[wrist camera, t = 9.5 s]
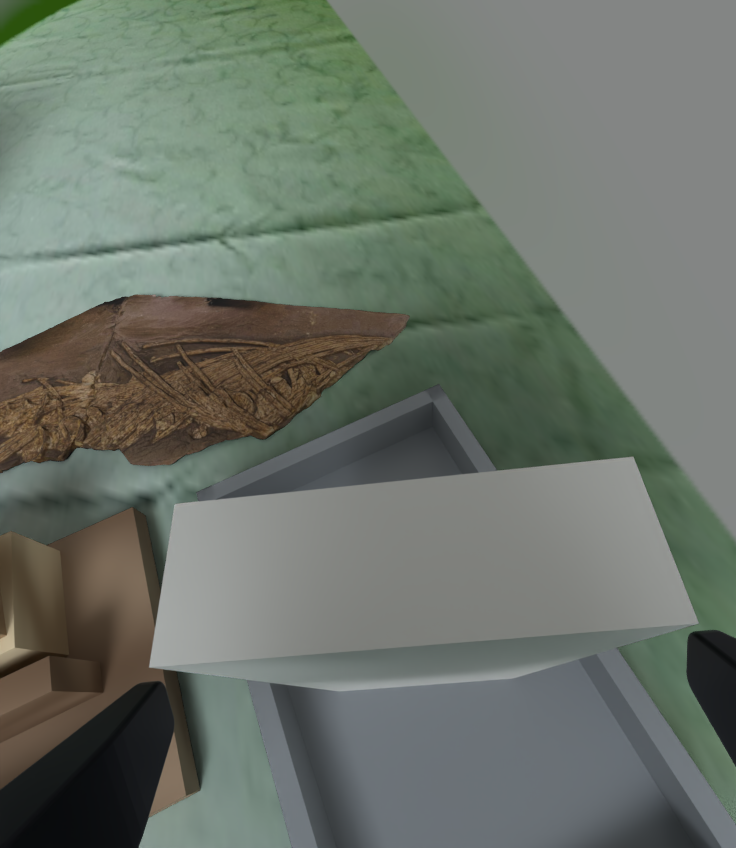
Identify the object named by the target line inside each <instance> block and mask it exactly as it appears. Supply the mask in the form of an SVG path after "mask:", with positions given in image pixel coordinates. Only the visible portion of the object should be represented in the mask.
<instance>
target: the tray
mask: <svg viewBox="0 0 736 848" xmlns="http://www.w3.org/2000/svg"><path fill="white" fill-rule="evenodd" d="M490 471H497V469H496V468H495V466H494V465H493V463H492V462H491V460H490V459H489V457H488V456H487V454H486V453H485V451H484V450H483V449H482V447H481V446H480V444H479V443H478V441H477V440H476V438H475V437H474V435H473V434H472V432H471V431H470V429H469V428H468V426H467V425H466V423H465V422H464V420H463V419H462V417H461V416H460V414H459V413H458V411H457V410H456V408H455V407H454V405H453V404H452V403H451V401H450V400H449V398H448V397H447V395H446V394H445V392H444V391H443V389H442V388H441V386H440V385H439V384H438V385H436V386H433V387H431V388H429V389H427V390H425V391H422V392H420V393H418V394H416V395H413V396H411V397H409V398H407V399H404V400H402V401H400V402H398V403H395V404H393V405H391V406H389V407H386V408H384V409H382V410H380V411H377V412H375V413H373V414H371V415H368V416H366V417H364V418H362V419H360V420H357V421H355V422H353V423H351V424H348V425H346V426H344V427H342V428H339V429H337V430H335V431H333V432H330V433H328V434H326V435H324V436H321V437H319V438H317V439H315V440H312V441H310V442H308V443H306V444H303V445H301V446H299V447H297V448H295V449H292V450H290V451H288V452H286V453H283V454H281V455H279V456H277V457H274V458H272V459H270V460H268V461H265V462H263V463H261V464H259V465H256V466H254V467H252V468H250V469H247V470H245V471H243V472H241V473H238V474H236V475H234V476H232V477H230V478H227V479H225V480H223V481H221V482H218V483H216V484H214V485H212V486H209V487H207V488H205V489H203V490H200V491H198V492H196V493H197V497H198V501H208V500H218V499H228V498H237V497H247V496H257V495H266V494H276V493H286V492H296V491H305V490H315V489H325V488H334V487H344V486H354V485H363V484H373V483H383V482H393V481H402V480H412V479H422V478H431V477H441V476H451V475H460V474H470V473H480V472H490ZM247 683H248V686H249V690H250V694H251V697H252V701H253V705H254V708H255V712H256V716H257V720H258V723H259V727H260V731H261V734H262V738H263V742H264V746H265V749H266V753H267V757H268V760H269V764H270V768H271V772H272V775H273V779H274V783H275V786H276V790H277V794H278V798H279V801H280V805H281V809H282V812H283V816H284V820H285V823H286V827H287V831H288V835H289V838H290V842H291V846H292V848H736V824H735V822H734V821H733V819H732V818H731V816H730V815H729V814H728V812H727V811H726V809H725V808H724V806H723V805H722V803H721V802H720V800H719V799H718V797H717V796H716V794H715V793H714V791H713V790H712V788H711V787H710V785H709V784H708V782H707V781H706V779H705V778H704V776H703V775H702V773H701V772H700V770H699V769H698V768H697V766H696V765H695V763H694V762H693V760H692V759H691V757H690V756H689V754H688V753H687V751H686V750H685V748H684V747H683V745H682V744H681V742H680V741H679V739H678V738H677V736H676V735H675V733H674V732H673V730H672V729H671V727H670V726H669V725H668V723H667V722H666V720H665V719H664V717H663V716H662V714H661V713H660V711H659V710H658V708H657V707H656V705H655V704H654V702H653V701H652V699H651V698H650V696H649V695H648V693H647V692H646V690H645V689H644V687H643V686H642V684H641V683H640V681H639V680H638V679H637V677H636V676H635V674H634V673H633V671H632V670H631V668H630V667H629V665H628V664H627V662H626V661H625V659H624V658H623V656H622V655H621V653H620V652H619V650H618V649H617V648H615V649H611V650H608V651H604V652H601V653H598V654H594V655H591V656H588V657H584V658H581V659H577V660H574V661H571V662H567V663H564V664H561V665H557V666H554V667H550V668H547V669H544V670H540V671H537V672H533V673H530V674H527V675H523V676H520V677H517V678H513V679H501V680H488V681H474V682H461V683H447V684H434V685H420V686H407V687H393V688H380V689H367V690H353V691H340V692H339V691H331V690H323V689H316V688H308V687H300V686H292V685H284V684H276V683H268V682H260V681H252V680H247Z"/></svg>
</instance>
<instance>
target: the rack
mask: <svg viewBox="0 0 736 848" xmlns="http://www.w3.org/2000/svg"><path fill="white" fill-rule="evenodd" d="M46 546H49V547H51V548H54V549H56V550H59V551H60V556H61V568H62V579H63V590H64V602H65V613H66V624H67V635H68V647H69V655H68V656H66V657H64V658H63V657H55V656H48V657H45V658H43V659H41V660H39V661H37V662H35V663H33V664H31V665H28V666H26V667H24V668H22V669H20V670H18V671H16V672H14V673H11V674H9V675H7V676H5V677H3V678H1V679H0V789H1V788H3V787H4V786H5V785H7V784H8V783H9V782H10V781H12V780H13V779H14V778H16V777H17V776H18V775H20V774H21V773H22V772H23V771H25V770H26V769H27V768H29V767H30V766H31V765H33V764H34V763H35V762H36V761H38V760H39V759H40V758H42V757H43V756H44V755H45V754H47V753H48V752H49V751H51V750H52V749H53V748H55V747H56V746H57V745H58V744H60V743H61V742H62V741H64V740H65V739H66V738H68V737H69V736H70V735H71V734H73V733H74V732H75V731H77V730H78V729H79V728H80V727H82V726H83V725H84V724H86V723H87V722H88V721H90V720H91V719H92V718H93V717H95V716H96V715H97V714H99V713H100V712H101V711H102V710H104V709H105V708H106V707H108V706H109V705H110V704H112V703H113V702H114V701H115V700H117V699H118V698H119V697H121V696H122V695H123V694H124V693H126V692H127V691H128V690H130V689H131V688H132V687H134V686H135V685H136V684H138V683H142V682H151V681H160V682H162V683H163V684H164V685H165V687H166V690H167V694H168V698H169V701H170V705H171V708H172V712H173V716H174V723H175V724H174V733H173V737H172V740H171V743H170V747H169V750H168V754H167V757H166V760H165V764H164V767H163V771H162V774H161V777H160V781H159V784H158V787H157V791H156V794H155V798H154V801H153V804H152V808H151V811H150V814H149V817H151V816H153V815H155V814H156V813H158V812H160V811H162V810H164V809H166V808H168V807H170V806H172V805H174V804H175V803H177V802H179V801H181V800H183V799H185V798H187V797H189V796H191V795H193V794H194V793H196V792H198V791H200V787H199V782H198V777H197V772H196V767H195V762H194V757H193V752H192V747H191V742H190V737H189V732H188V727H187V722H186V717H185V712H184V707H183V702H182V697H181V691H180V686H179V681H178V676H177V671H173V670H165V669H157V668H149V664H150V658H151V651H152V645H153V639H154V632H155V626H156V620H157V613H158V607H159V601H160V594H161V591H160V586H159V581H158V576H157V571H156V566H155V561H154V556H153V551H152V546H151V541H150V536H149V531H148V526H147V520H146V516H145V515H144V514H142V513H141V512H139V511H138V510H136V509H135V508H133V507H132V508H130V509H127V510H125V511H123V512H120V513H118V514H116V515H114V516H111V517H109V518H107V519H105V520H102V521H100V522H98V523H96V524H93V525H91V526H89V527H87V528H84V529H82V530H80V531H78V532H75V533H73V534H71V535H69V536H66V537H64V538H62V539H59V540H57V541H55V542H53V543H50V544H48V545H46Z"/></svg>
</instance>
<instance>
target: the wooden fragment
mask: <svg viewBox="0 0 736 848" xmlns="http://www.w3.org/2000/svg"><path fill="white" fill-rule="evenodd" d="M409 317H410V316H409V315H405V314H397V313H380V312H377V313H376V312H368V311H361V310H350V309H337V308H323V307H306V306H291V305H282V304H271V303H265V302H258V301H245V300H232V299H222V298H201V297H178V296H169V297H164V298H162V297H160V296H159V297H156V295H133V296H130V297H121V298H119V299H115V300H113V301H110V302H104V303H103V304H100V305H98V306H96V307H94V308H91V309H89V310H87V311H85V312H83V313H81V314H79V315H77V316H75V317H73V318H70V319H68V320H66V321H64V322H62V323H60V324H58V325H56V326H54V327H53V328H50V329H48V330H46V331H44V332H42V333H39V334H37V335H35V336H33V337H31V338H28V339H26V340H25V341H23V342H21V343H19V344H16V345H14V346H12V347H10V348H7V349H5V350H3V351H2V352H0V473H3V471H2V470H8V469H10V468H12V467H14V466H18V465H19V464H21V463H23V462H25V463H26V462H29V461H34V462H37V463H41V462H44V461H49V460H51V461H65V460H66V459H67V457H68V456H69V455H70V454H71V453H72V452H73V451H74V449H76V448H80V447H81V448H85V449H89V448H92V449H94V450H113V451H115V450H117V449H120V451H121V452H122V453H123V454H124V455H125V457H126V458H127V460H128V461H129V462H130V463H131V464H133V465H135V464H136V465H145V466H155V465H163V464H164V465H170V464H174V463H175V462H176V461H177V460H178V459H180V458H181V457H183V456H185V455H189V454H192V453H195V452H199V451H202V450H203V449H205V448H206V447H208V446H211V445H214V444H217V443H220V442H223V441H225V440H233V439H238V438H241V437H247V436H250V435H251V436H253V437H255V438H258V439H262V440H263V439H266V438H268V437H269V436H271V435H272V434H274V433H275V432H276V431H278V430H279V429H281V428H283V427H285V426H286V425H287V424H288V423H289V422H290V421H291V420H292V419H293V417H294V416H296V415H297V414H298V413H300V412H301V411H303V410H304V409H306V408H308V407H309V406H311V405H312V403H313V402H314V401H316V400H317V399H318V398H320V397H321V393H322V391H323V390H324V389H326V388H328V387H330V386H332V385H333V384H335V383H336V382H337V381H338V380H339V379H340V378H341V377H342V376H343V374H345V373H346V372H347V371H348V370H349V369H351V368H352V367H353V366H354V365H355V364H356V363H358V362H359V361H361V360H362V359H363V358H364V357H365V356H366V354H367V353H368V352H369V351H370V350H380V349H382V348H383V347H385V346H386V345H389V344H390V343H392V342H393V340H394V339H395V338H396V337H397V336H398V334H399V333H401V331H402V330H403V329H404V328H405V327H406V323H407V321H408V319H409Z"/></svg>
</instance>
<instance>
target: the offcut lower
mask: <svg viewBox="0 0 736 848" xmlns="http://www.w3.org/2000/svg"><path fill="white" fill-rule="evenodd" d="M0 589H1V596H2V604H3V611H4V618H5V626H6V633H7V636H5V637H3V638H1V639H0V679H1V678H3V677H5V676H7V675H9V674H11V673H14V672H16V671H18V670H20V669H22V668H24V667H26V666H28V665H31V664H33V663H35V662H37V661H39V660H41V659H43V658H45V657H48V656H55V657H63V658H64V657H66V656H68V655H69V647H68V635H67V624H66V613H65V602H64V590H63V579H62V568H61V556H60V551H59V550H56V549H54V548H51V547H49V546H46V545H44V544H41V543H39V542H37V541H34V540H32V539H29V538H27V537H24V536H22V535H20V534H17V533H15V532H12V531H10V532H8V533H5V534H3V535H1V536H0Z"/></svg>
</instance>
